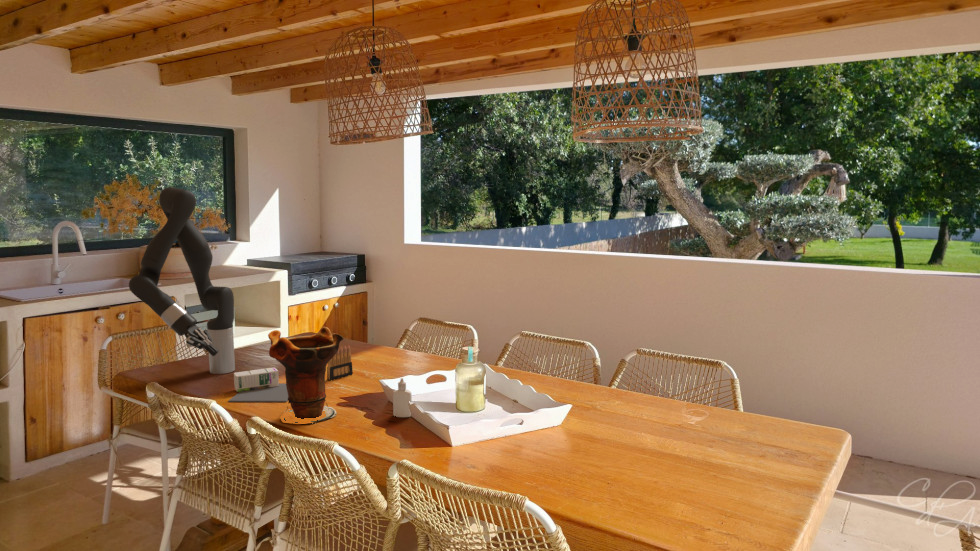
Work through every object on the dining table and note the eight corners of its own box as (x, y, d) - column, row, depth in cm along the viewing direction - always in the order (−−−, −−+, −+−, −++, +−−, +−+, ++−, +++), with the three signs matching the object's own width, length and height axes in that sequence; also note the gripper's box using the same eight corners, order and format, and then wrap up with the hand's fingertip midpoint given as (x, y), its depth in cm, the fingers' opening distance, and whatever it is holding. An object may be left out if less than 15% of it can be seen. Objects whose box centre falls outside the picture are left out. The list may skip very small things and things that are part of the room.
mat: (250, 384, 246) (250, 383, 246) (303, 384, 245) (303, 383, 245) (228, 402, 226) (228, 400, 226) (286, 402, 225) (286, 400, 225)
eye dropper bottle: (400, 412, 215) (399, 375, 213) (414, 415, 212) (413, 378, 210) (391, 416, 211) (390, 378, 210) (404, 419, 208) (403, 381, 207)
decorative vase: (360, 412, 213) (353, 326, 209) (293, 434, 198) (284, 342, 193) (325, 398, 228) (318, 317, 224) (261, 418, 213) (251, 331, 208)
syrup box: (236, 376, 234) (278, 370, 241) (233, 372, 239) (275, 367, 246) (236, 392, 235) (279, 386, 242) (234, 388, 240) (276, 382, 247)
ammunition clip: (330, 380, 250) (329, 349, 249) (327, 380, 251) (325, 348, 250) (352, 374, 258) (351, 343, 257) (349, 373, 260) (348, 343, 258)
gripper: (176, 315, 226) (215, 351, 227) (194, 308, 239) (231, 341, 240) (162, 331, 226) (201, 366, 228) (180, 322, 240) (217, 356, 241)
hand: (216, 353), depth 234 cm, fingers closed
